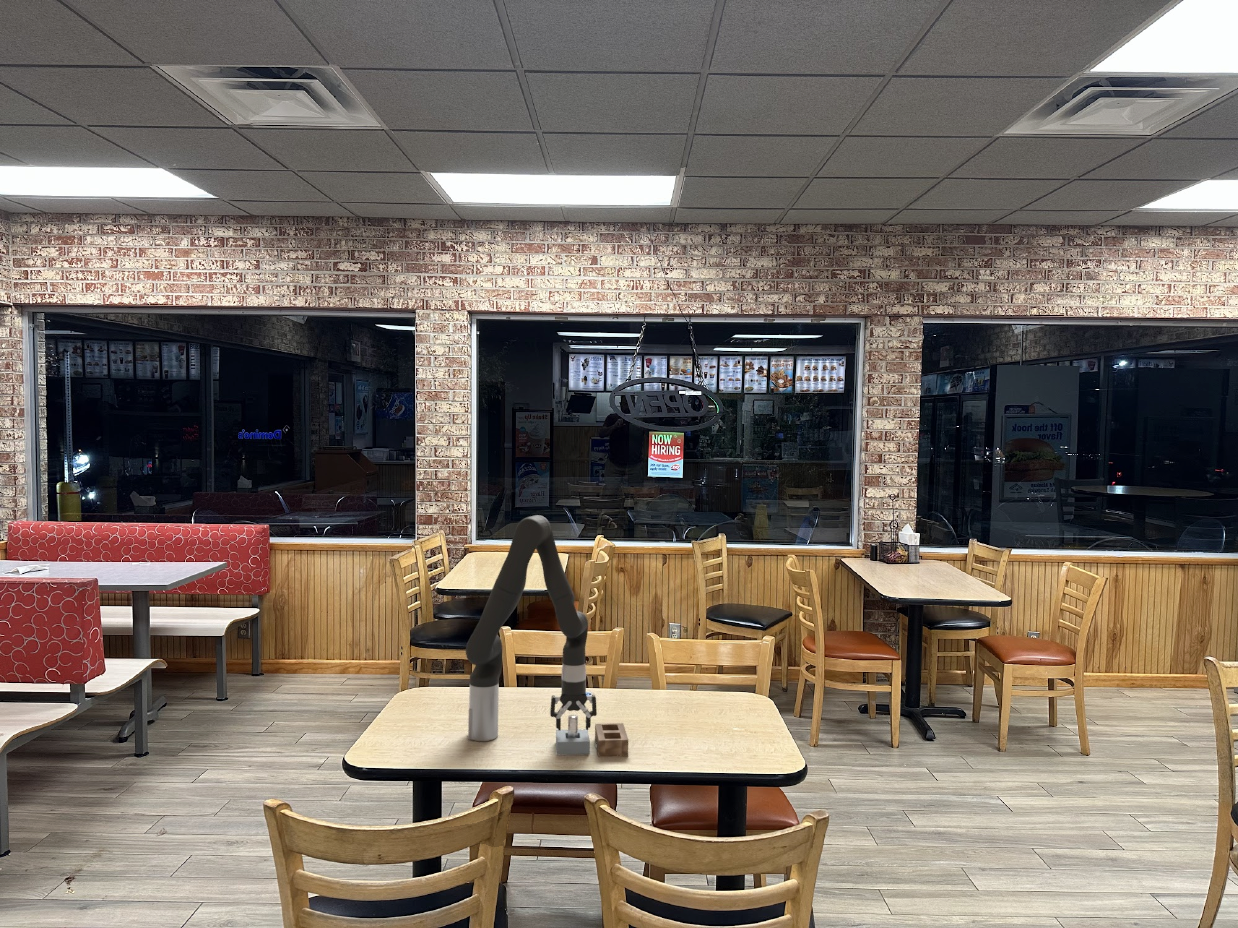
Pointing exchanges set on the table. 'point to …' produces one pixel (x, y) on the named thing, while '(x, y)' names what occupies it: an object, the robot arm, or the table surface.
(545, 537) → the robot arm
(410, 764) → the table surface
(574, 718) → the steel rod
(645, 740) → the table surface
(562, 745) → the socket block
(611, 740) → the walnut rack
